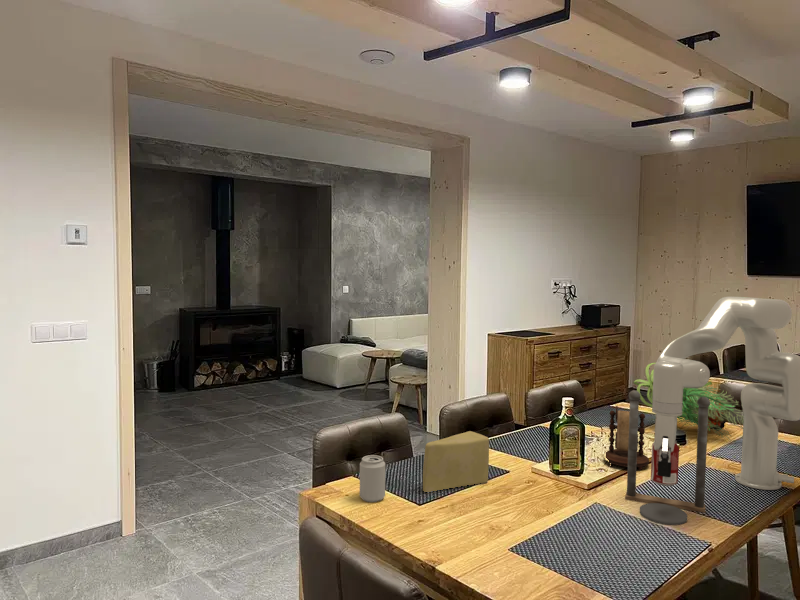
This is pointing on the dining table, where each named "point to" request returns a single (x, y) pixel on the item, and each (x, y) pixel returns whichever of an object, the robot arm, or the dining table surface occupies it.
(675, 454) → the soda can
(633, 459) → the gate
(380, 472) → the can
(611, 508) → the dining table surface
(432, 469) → the cheese
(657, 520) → the coaster
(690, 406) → the plant
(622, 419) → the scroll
